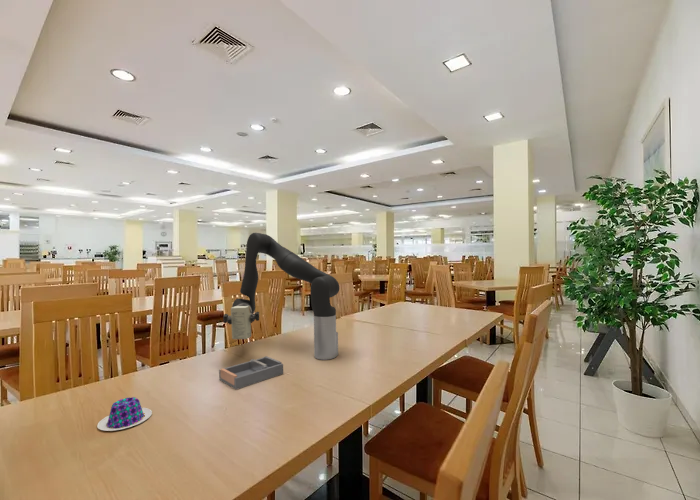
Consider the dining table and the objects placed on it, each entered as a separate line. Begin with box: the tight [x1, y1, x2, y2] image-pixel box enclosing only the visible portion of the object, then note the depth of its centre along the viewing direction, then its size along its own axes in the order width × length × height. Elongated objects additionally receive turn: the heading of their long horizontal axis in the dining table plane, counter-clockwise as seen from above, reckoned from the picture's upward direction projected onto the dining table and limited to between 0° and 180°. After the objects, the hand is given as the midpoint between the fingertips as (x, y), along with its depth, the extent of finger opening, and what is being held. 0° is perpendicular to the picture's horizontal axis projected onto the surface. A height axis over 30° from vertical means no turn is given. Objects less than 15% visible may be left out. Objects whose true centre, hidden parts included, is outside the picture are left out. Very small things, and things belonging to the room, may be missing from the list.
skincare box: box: [230, 306, 252, 340], centre depth 128 cm, size 6×4×12 cm
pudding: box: [96, 396, 153, 432], centre depth 87 cm, size 12×12×5 cm
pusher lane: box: [218, 356, 284, 390], centre depth 116 cm, size 18×12×4 cm, turn 136°
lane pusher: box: [249, 358, 267, 371], centre depth 118 cm, size 1×9×3 cm, turn 46°
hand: (240, 321), depth 126 cm, fingers closed on skincare box, 7 cm apart
